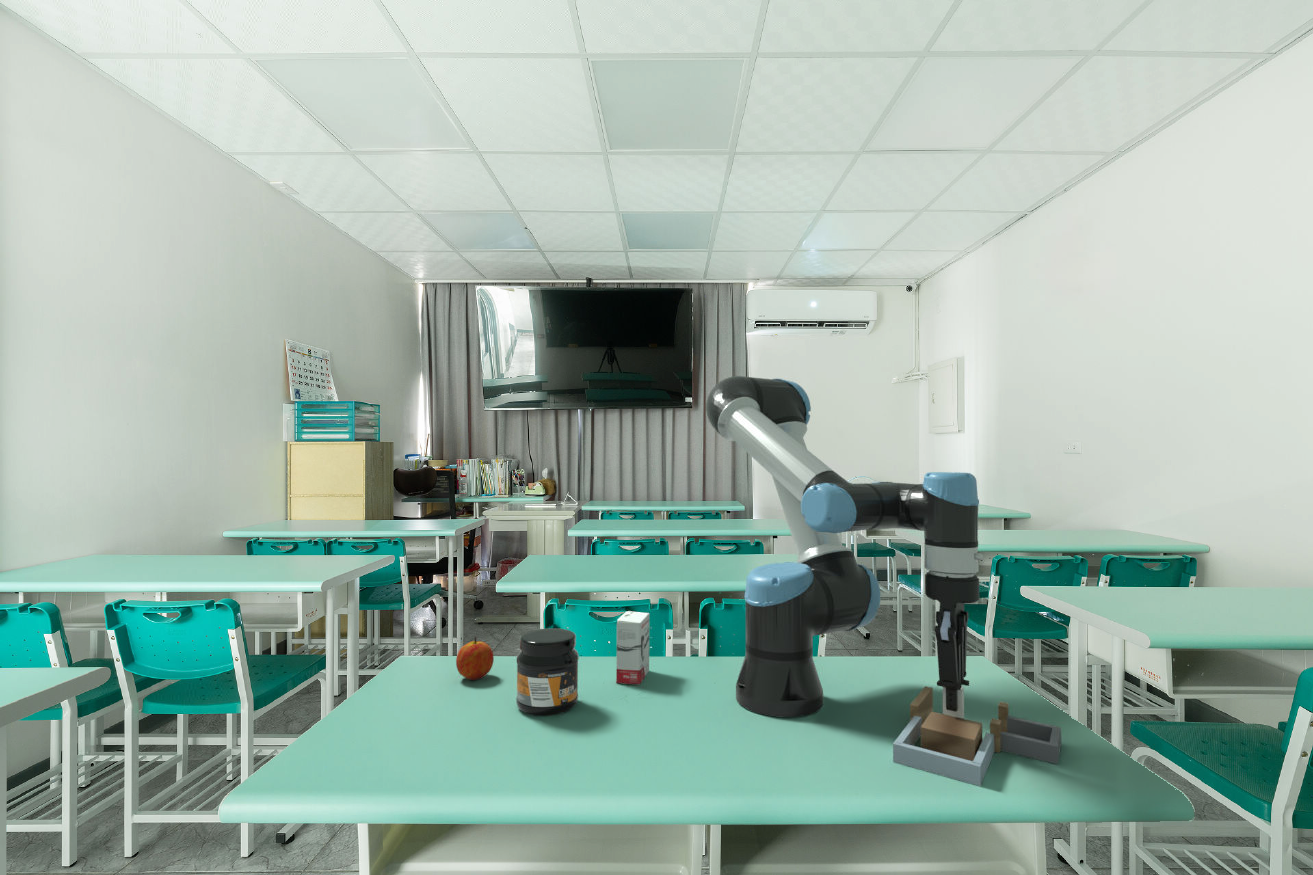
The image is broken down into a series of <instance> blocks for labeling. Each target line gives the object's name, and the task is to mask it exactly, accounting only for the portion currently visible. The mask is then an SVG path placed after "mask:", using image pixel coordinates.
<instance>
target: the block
mask: <svg viewBox="0 0 1313 875" xmlns="http://www.w3.org/2000/svg"><path fill="white" fill-rule="evenodd" d="M983 739H984V737H983V723H982V722H979V721H975V720H972V719H971V720H970V719H966V718H964V719H963V718H958V717H953V716H949V715H945V714H943V713H939V712H936V711H933V712H931V713H930V714H929V716H928V717H927V719H926V720H925V721H924V723H923V724H922V726H921V735H920V748H923V749H927V750H931V751H935V752H939V753H943V754H946V755H950V756H954V757H958V758H962V759H966V760H969V761H973V760H974V758H975V756H976V754H977V752H978V749H979V747H980V745H981V743H982V741H983Z"/></svg>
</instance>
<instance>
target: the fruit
mask: <svg viewBox="0 0 1313 875" xmlns="http://www.w3.org/2000/svg"><path fill="white" fill-rule="evenodd" d="M494 658H495V657H494V652H493V649H492V648H491V646H490V645H489V644H488V643H486V642H484V641H481V640H480V641H477V637H476V636H475V637H474V640H472V641H470V642H467V643H465V645H462V647H460V648H459V650H458V652H457V654H456V658H455V663H456V664H455V665H456V669H457V671H458V674H460V676H462V677H463V678H465V679H467V680H469V681H477V680H480V679H482V678H484V677H486V675H488V674H489V672H490V671H491V669H492V667H493V666H494Z"/></svg>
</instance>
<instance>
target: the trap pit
mask: <svg viewBox="0 0 1313 875" xmlns="http://www.w3.org/2000/svg"><path fill="white" fill-rule="evenodd" d="M1000 735H1001V751H1002V752H1006V753H1010V754H1014V755H1018V756H1022V757H1025V758H1031V759H1035V760H1038V761H1043V762H1047V763H1051V764H1055V765H1058V764H1059V759H1060V753H1061V747H1062V727H1061V726H1058V725H1052V724H1049V723H1044V722H1043V723H1042V722H1037V721H1034V720H1028V719H1025V718H1020V717H1017V716H1016V717H1015V716H1010V715H1009V716H1007V732H1002V731H1001V734H1000ZM1001 751H1000V752H1001Z"/></svg>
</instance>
